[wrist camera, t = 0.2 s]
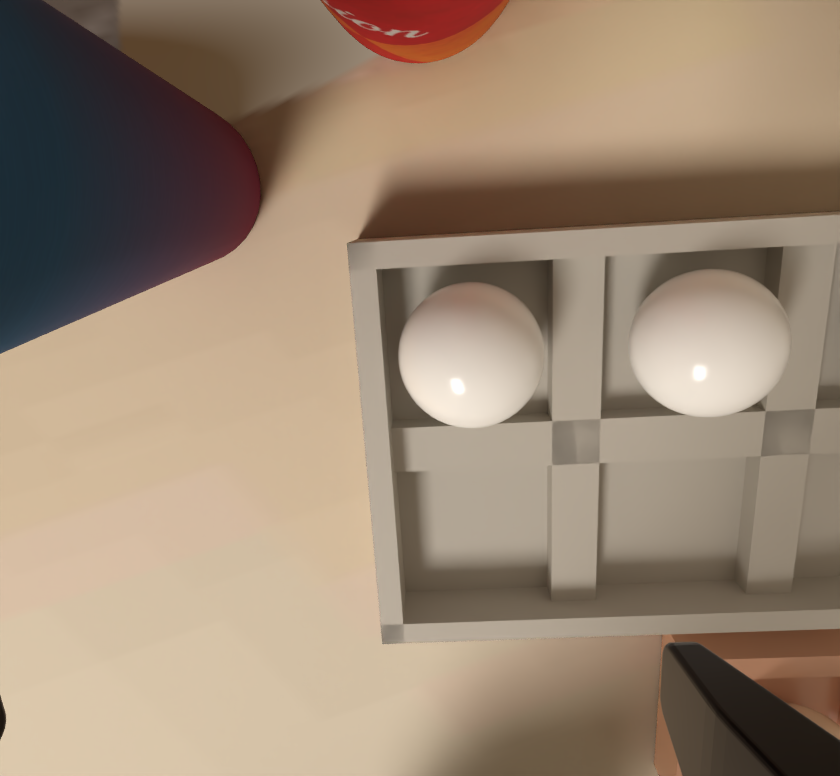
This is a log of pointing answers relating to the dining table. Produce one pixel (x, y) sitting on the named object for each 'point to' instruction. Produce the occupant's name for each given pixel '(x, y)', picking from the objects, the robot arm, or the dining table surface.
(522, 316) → the white egg
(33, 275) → the cup
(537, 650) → the dining table surface
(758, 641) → the egg dish
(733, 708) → the robot arm
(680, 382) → the white egg
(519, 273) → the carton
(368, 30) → the coffee cup
